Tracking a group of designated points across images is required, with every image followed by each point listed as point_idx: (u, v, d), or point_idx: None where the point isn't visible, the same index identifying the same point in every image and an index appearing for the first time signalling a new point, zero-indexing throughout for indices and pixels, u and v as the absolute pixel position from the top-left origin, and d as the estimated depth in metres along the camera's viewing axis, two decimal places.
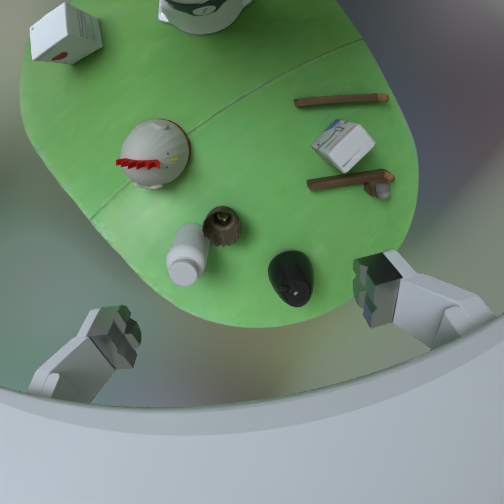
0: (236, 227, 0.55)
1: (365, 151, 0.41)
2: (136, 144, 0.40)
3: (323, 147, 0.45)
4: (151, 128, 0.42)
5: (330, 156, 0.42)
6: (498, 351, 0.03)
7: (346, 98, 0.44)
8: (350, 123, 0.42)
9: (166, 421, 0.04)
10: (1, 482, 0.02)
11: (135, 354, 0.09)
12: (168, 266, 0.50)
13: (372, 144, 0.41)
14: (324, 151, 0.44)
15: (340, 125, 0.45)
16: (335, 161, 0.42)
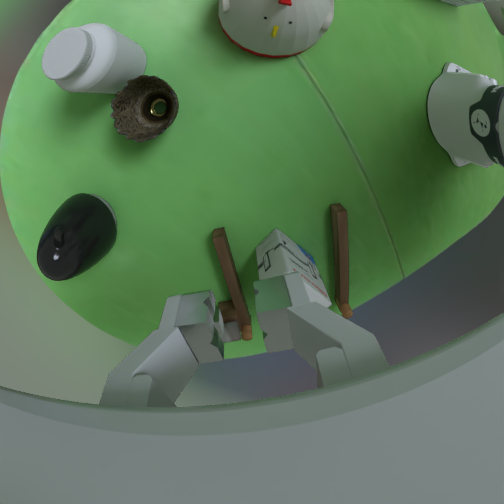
0: (142, 132, 0.28)
1: None
2: None
3: (288, 255, 0.34)
4: (328, 9, 0.19)
5: None
6: (498, 351, 0.03)
7: (344, 270, 0.41)
8: (324, 287, 0.35)
9: (166, 421, 0.04)
10: (1, 482, 0.02)
11: (222, 344, 0.08)
12: (79, 28, 0.14)
13: None
14: (286, 259, 0.32)
15: (314, 270, 0.38)
16: None
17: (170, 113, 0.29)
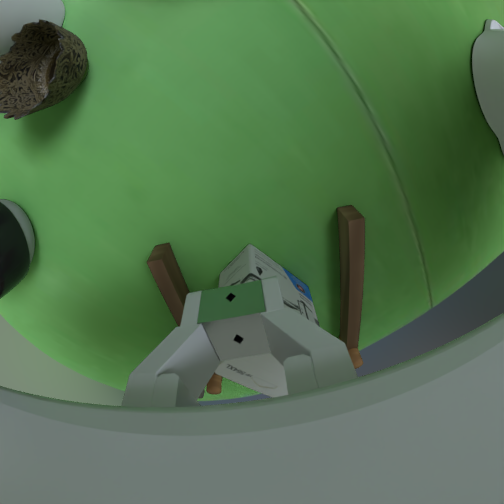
0: None
1: (272, 394, 0.19)
2: None
3: None
4: None
5: None
6: (498, 351, 0.03)
7: (356, 306, 0.26)
8: None
9: (166, 421, 0.04)
10: (1, 482, 0.02)
11: None
12: None
13: None
14: None
15: (308, 313, 0.23)
16: None
17: None
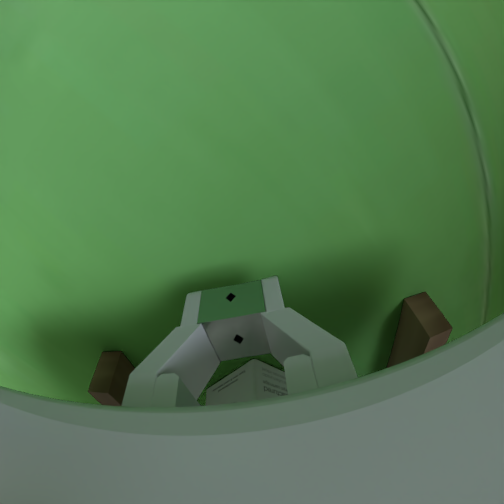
0: None
1: None
2: None
3: None
4: None
5: None
6: (498, 351, 0.03)
7: None
8: None
9: (166, 421, 0.04)
10: (1, 482, 0.02)
11: None
12: None
13: None
14: None
15: None
16: None
17: None
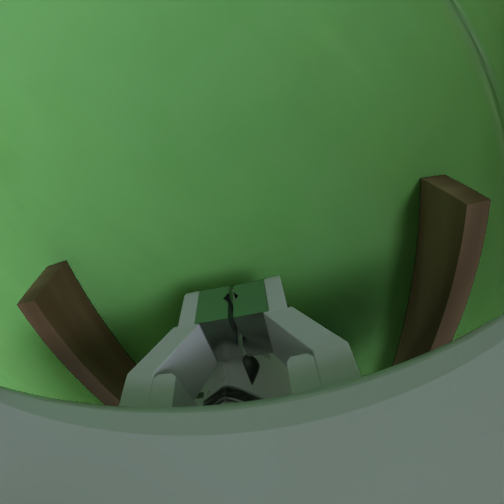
0: None
1: None
2: None
3: None
4: None
5: None
6: (498, 351, 0.03)
7: None
8: None
9: (166, 421, 0.04)
10: (1, 482, 0.02)
11: (241, 341, 0.08)
12: None
13: None
14: None
15: None
16: None
17: None
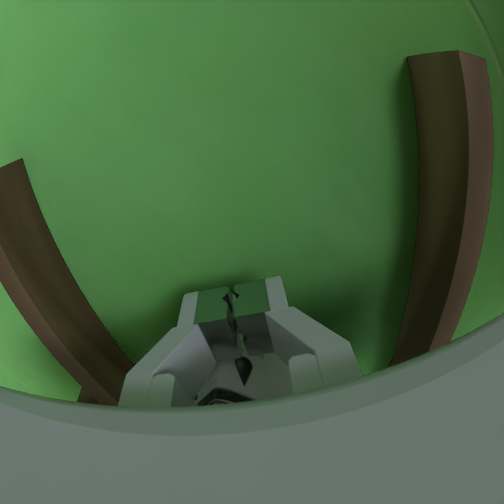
0: None
1: None
2: None
3: None
4: None
5: None
6: (498, 351, 0.03)
7: (455, 306, 0.09)
8: None
9: (166, 421, 0.04)
10: (1, 482, 0.02)
11: (240, 342, 0.08)
12: None
13: None
14: None
15: None
16: None
17: None
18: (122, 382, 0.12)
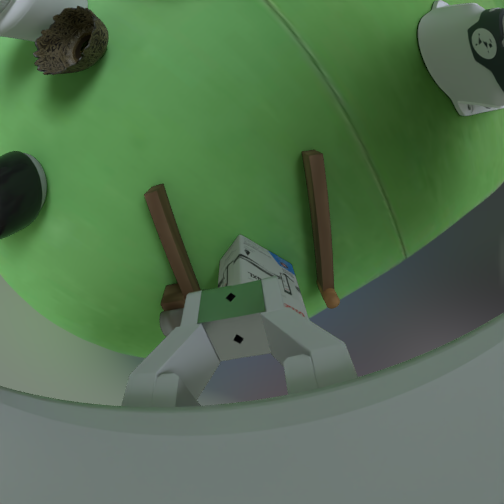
0: None
1: None
2: None
3: (248, 269, 0.27)
4: None
5: None
6: (498, 351, 0.03)
7: (326, 239, 0.31)
8: (302, 303, 0.28)
9: (166, 421, 0.04)
10: (1, 482, 0.02)
11: None
12: None
13: None
14: (244, 276, 0.25)
15: (290, 282, 0.30)
16: None
17: None
18: (192, 279, 0.34)
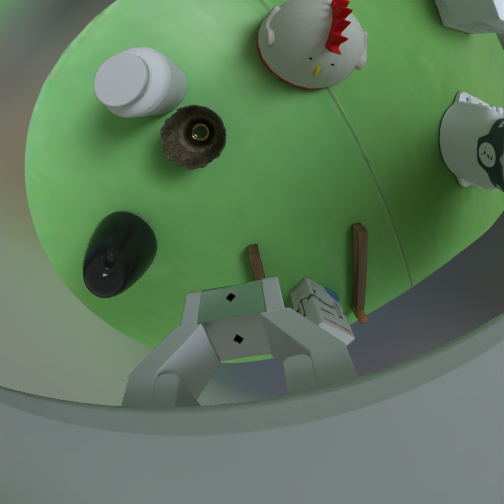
0: (188, 157, 0.32)
1: None
2: (356, 26, 0.19)
3: (318, 305, 0.41)
4: (363, 49, 0.23)
5: (320, 324, 0.37)
6: (498, 351, 0.03)
7: (362, 281, 0.45)
8: (348, 323, 0.42)
9: (166, 421, 0.04)
10: (1, 482, 0.02)
11: None
12: (129, 51, 0.18)
13: None
14: (318, 310, 0.40)
15: (339, 309, 0.45)
16: None
17: (213, 139, 0.33)
18: None
